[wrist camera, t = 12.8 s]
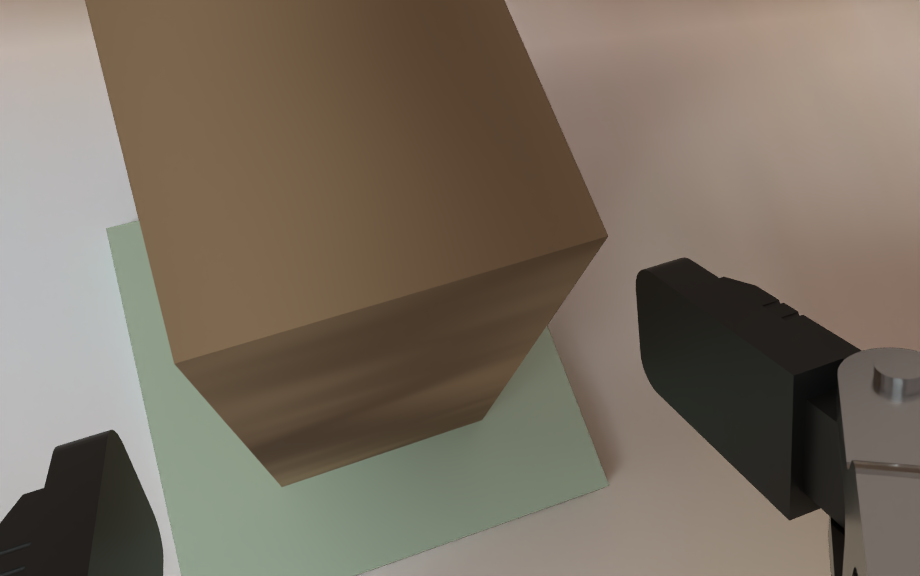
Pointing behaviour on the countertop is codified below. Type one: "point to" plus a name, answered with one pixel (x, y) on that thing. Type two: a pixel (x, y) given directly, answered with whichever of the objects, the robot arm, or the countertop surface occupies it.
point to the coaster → (353, 486)
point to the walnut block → (344, 211)
